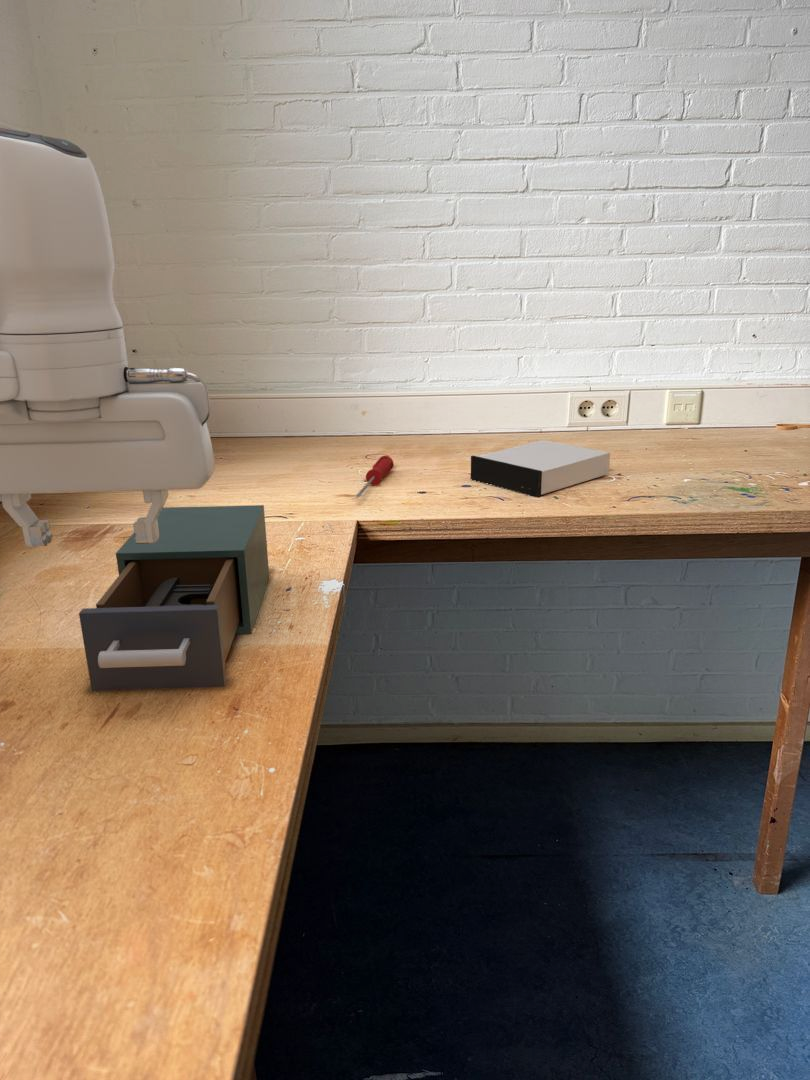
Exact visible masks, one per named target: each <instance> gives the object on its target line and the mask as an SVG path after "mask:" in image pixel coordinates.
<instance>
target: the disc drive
mask: <svg viewBox="0 0 810 1080" xmlns="http://www.w3.org/2000/svg"><path fill="white" fill-rule="evenodd" d="M610 459H611V452H609V451H604V450H598V449H593V448H588V447H582V446H577V445H572V444H566V443H561V442H556V441H550V440H545V439H541V440H538V441H534V442H529V443H525V444H520V445H518V446H513V447H509V448H504V449H501V450H497V451H493V452H492V451H491V452H488V453H485V454H480V455H471V456H470V480H471V479H472V480H471V481H473V480H476V481H475V482H477V481H480V482H479V483H481V482H484V483H483V484H485V483H488V484H487V485H489V484H492V485H491V486H493V485H495V486H494V487H497V486H499V487H498V488H501V487H503V488H502V489H505V488H507V489H506V490H509V489H511V490H510V491H513V490H515V491H514V492H517V491H519V492H518V493H520V492H522V493H521V494H524V493H526V494H525V495H528V494H530V495H529V496H532V495H534V496H533V497H536V496H538V497H537V498H541V497H542V495H545V494H548V493H551V492H552V493H553V492H554V491H559V490H562V489H564V488H568V487H570V486H575V485H578V484H580V483H583V482H587V481H590V480H594V479H597V478H601V477H603V476H606V475H609V474H610ZM540 496H541V497H540Z"/></svg>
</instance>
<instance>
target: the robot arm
mask: <svg viewBox="0 0 810 1080" xmlns="http://www.w3.org/2000/svg"><path fill="white" fill-rule="evenodd" d="M109 222H110V221H109V217H108V211H107V207H106V201H105V198H104V194H103V189H102V186H101V183H100V180H99V177H98V173H97V172H96V169H95V166H94V164H93V163H92V161H91V159H90V157H89V156H88V154H87V153H86V152H85V151H84V150H83V149H81V147H80V146H78V145H77V144H75V143H73V142H71V141H68V140H66V139H64V138H57V137H52V136H47V135H43V134H36V133H31V132H30V133H29V132H27V131H22V130H16V129H11V128H5V127H0V499H1V504H2V508H3V509H4V510H5V512H6V513H7V514H8V515H9V516H10V517H11V519H13V521H14V522H15V523H16V524H17V525H18V527H20V528H21V529H22V534H23V540H24V545H25V547H26V548H27V547H28V548H33V547H47V546H48V544H50V543H51V542H52V540H53V535H52V534H53V533H52V532H51V531H50V529H51V524H50V520H49V519H39V518H38V516H37V514H36V513H35V512H34V511H33V510H32V508H31V507H30V506H29V504H28V503H27V502H28V501H30V500H31V499H32V494H34V495H35V494H67V493H104V492H105V493H106V492H109V493H110V492H142V495H143V496H142V497H143V501H144V503H145V504H150V508H149V509H148V511H147V514H146V516H143V517H138V518H137V519H136V521H134V523H132V527H133V528H132V529H133V533H135V534H136V536H135V541H136V543H137V544H142V543H156V541H157V540H158V538H159V529H158V521H157V518H158V517H159V515H160V512H161V510H162V508H164V507H165V504H166V502H167V501H168V498H169V491H179V490H180V491H181V490H183V491H184V490H199V489H201V488H203V487H204V486H205V485H206V484H207V483H208V482H209V480H210V479H211V478H212V476H213V475H214V473H215V468H216V463H215V462H216V461H215V455H214V450H213V444H212V439H211V435H210V430H209V427H208V424H207V421H208V420H209V417H210V415H211V401H210V391H209V388H208V386H207V384H206V382H205V381H204V380H203V379H202V378H201V377H200V376H199V375H198V374H195V373H193V372H188V369H187V368H185V367H181V366H171V367H167V368H154V367H129V362H128V354H127V353H128V352H127V347H126V339H125V332H124V323H123V320H122V317H121V314H120V312H119V310H118V308H117V305H116V301H115V298H114V290H113V289H114V288H113V285H114V275H115V271H116V263H115V256H114V255H115V253H114V248H113V247H114V246H113V241H112V235H111V228H110V223H109ZM189 379H191V380H194V381H188V380H189Z"/></svg>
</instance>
